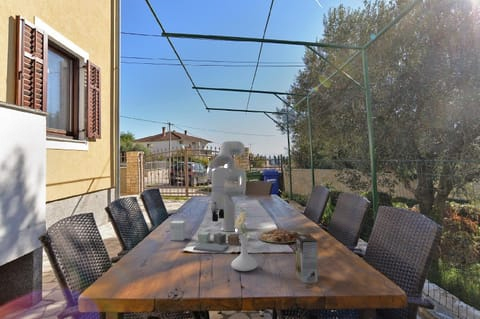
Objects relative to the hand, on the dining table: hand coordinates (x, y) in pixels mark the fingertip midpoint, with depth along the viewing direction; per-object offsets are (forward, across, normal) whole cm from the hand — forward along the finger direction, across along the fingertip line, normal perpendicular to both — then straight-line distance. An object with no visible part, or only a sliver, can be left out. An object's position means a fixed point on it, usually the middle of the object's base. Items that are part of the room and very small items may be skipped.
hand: (218, 219), depth 159 cm
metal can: (+13, -12, +9) cm, 20 cm away
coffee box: (+14, +35, +51) cm, 63 cm away
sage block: (+13, -1, -9) cm, 16 cm away
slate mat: (+13, +11, 0) cm, 17 cm away
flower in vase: (+14, +33, +25) cm, 44 cm away
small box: (+13, -1, -26) cm, 29 cm away
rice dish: (+13, -20, +33) cm, 41 cm away
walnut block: (+13, -1, +9) cm, 16 cm away
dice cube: (+13, 0, +1) cm, 13 cm away
